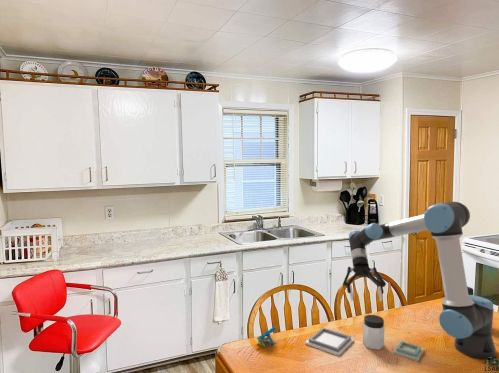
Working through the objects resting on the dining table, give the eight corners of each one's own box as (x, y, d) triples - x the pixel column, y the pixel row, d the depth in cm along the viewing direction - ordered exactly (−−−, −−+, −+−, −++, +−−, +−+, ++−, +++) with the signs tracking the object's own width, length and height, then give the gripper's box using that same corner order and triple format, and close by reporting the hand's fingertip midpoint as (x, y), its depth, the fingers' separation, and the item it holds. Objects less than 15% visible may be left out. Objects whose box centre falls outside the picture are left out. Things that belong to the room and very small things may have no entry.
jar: (377, 352, 154) (378, 324, 153) (359, 345, 160) (360, 318, 159) (386, 344, 160) (387, 318, 159) (369, 338, 166) (370, 312, 165)
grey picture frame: (353, 340, 164) (354, 336, 163) (339, 356, 151) (339, 351, 151) (321, 330, 173) (321, 326, 173) (305, 343, 161) (305, 339, 160)
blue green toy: (269, 330, 169) (278, 322, 163) (276, 342, 167) (286, 334, 160) (251, 341, 163) (260, 332, 156) (258, 353, 160) (267, 345, 153)
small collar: (423, 351, 155) (424, 346, 155) (418, 361, 147) (418, 356, 147) (399, 343, 161) (399, 339, 161) (392, 353, 153) (392, 348, 153)
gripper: (382, 263, 186) (391, 303, 172) (333, 262, 187) (338, 302, 173) (386, 256, 180) (396, 297, 166) (336, 255, 181) (341, 295, 168)
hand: (366, 299), depth 170 cm, fingers open, 13 cm apart
